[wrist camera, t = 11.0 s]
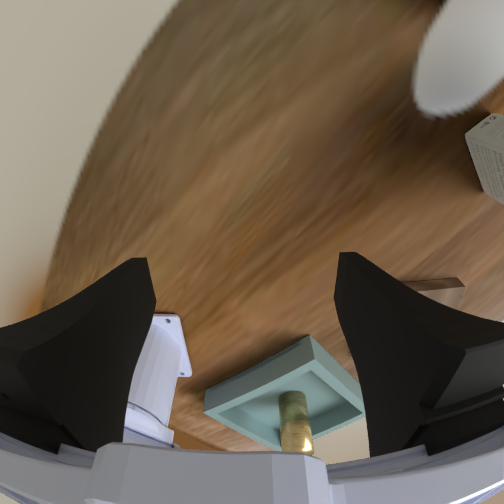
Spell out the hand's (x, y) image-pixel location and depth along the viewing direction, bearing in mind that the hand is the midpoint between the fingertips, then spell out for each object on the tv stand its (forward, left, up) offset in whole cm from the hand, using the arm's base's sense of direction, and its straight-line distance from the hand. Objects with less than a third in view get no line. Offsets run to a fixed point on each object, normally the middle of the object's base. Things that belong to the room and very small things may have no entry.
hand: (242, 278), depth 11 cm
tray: (+4, -22, -10) cm, 25 cm away
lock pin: (+4, -22, -10) cm, 24 cm away
